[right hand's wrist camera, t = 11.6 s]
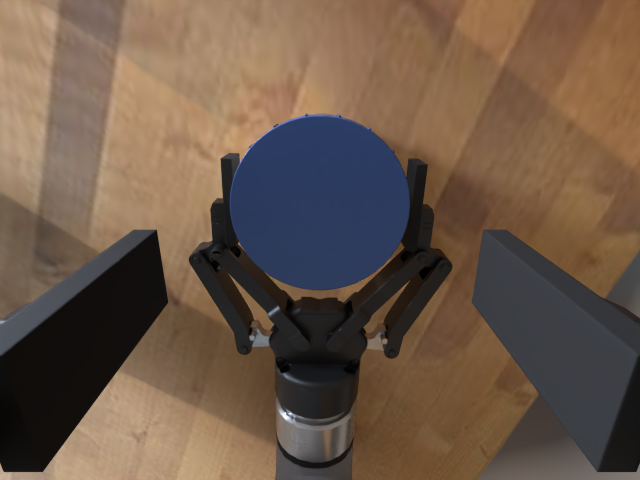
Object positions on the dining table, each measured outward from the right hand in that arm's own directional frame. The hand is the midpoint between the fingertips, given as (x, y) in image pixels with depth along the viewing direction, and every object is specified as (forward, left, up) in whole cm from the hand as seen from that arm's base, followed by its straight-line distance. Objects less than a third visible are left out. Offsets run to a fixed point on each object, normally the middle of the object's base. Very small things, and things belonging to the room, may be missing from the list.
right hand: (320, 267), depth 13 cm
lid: (0, 0, -7) cm, 7 cm away
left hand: (0, +1, -16) cm, 16 cm away
